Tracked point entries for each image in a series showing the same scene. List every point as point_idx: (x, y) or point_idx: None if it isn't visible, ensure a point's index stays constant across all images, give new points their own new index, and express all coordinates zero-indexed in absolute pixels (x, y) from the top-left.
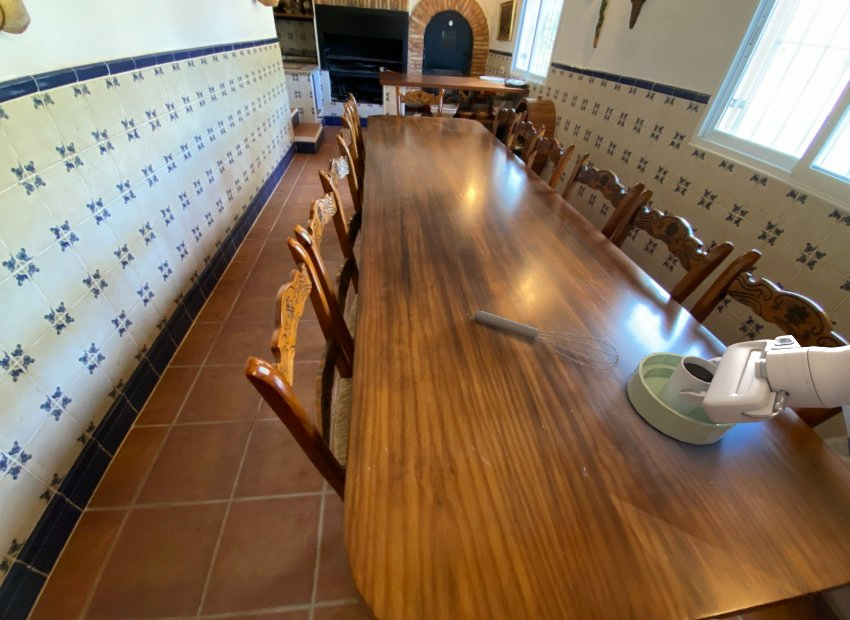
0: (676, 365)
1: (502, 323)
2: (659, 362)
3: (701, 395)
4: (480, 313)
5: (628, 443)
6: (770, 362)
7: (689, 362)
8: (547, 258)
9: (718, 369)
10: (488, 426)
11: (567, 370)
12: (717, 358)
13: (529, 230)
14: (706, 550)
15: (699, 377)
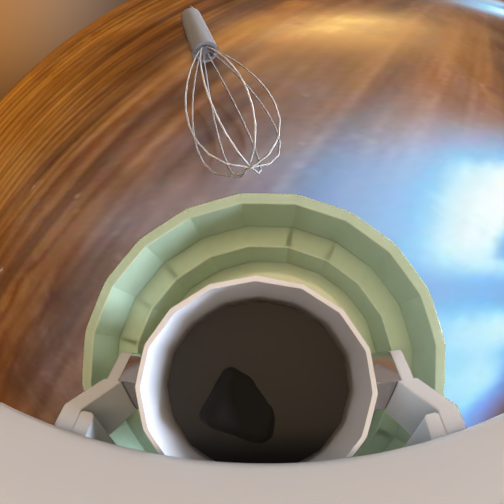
0: (401, 310)
1: (186, 25)
2: (364, 261)
3: (64, 413)
4: (185, 10)
5: (66, 314)
6: None
7: (330, 326)
8: (443, 32)
9: (281, 473)
10: (15, 149)
11: (176, 133)
12: (449, 413)
13: (459, 16)
14: None
15: (212, 400)
